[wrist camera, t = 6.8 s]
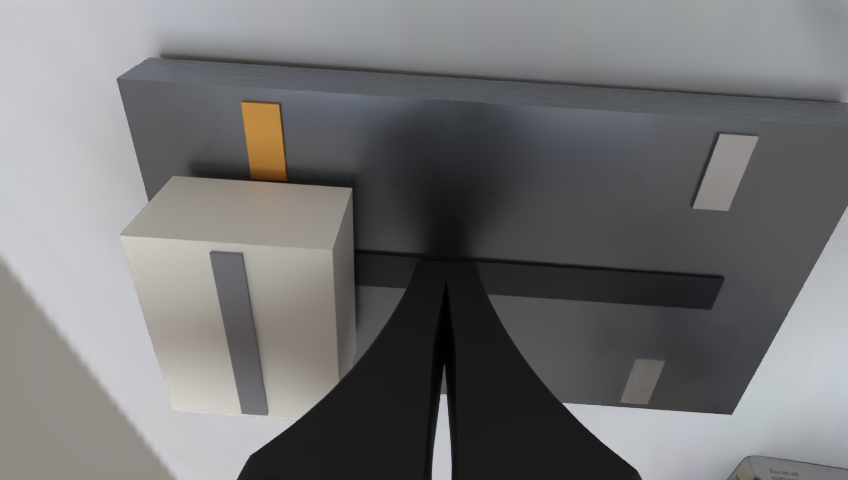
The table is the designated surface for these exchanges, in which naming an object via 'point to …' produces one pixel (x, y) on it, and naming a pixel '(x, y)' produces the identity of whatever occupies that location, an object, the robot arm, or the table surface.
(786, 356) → the table surface
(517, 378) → the robot arm
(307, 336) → the fader knob
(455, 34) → the table surface
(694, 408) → the fader panel
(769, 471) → the coffee box
